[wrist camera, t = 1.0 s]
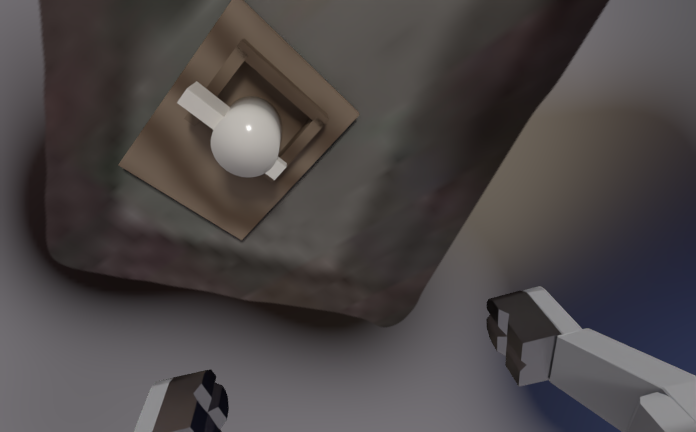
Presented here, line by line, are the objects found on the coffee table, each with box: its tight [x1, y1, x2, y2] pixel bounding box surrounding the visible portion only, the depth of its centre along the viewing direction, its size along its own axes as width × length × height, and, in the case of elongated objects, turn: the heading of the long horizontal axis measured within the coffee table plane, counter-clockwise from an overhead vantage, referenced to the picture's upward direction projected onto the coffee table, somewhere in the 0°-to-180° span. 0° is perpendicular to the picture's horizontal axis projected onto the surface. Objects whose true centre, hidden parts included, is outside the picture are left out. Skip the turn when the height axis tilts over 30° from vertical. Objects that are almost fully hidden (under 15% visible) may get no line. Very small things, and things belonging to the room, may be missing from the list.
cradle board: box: [119, 0, 360, 240], centre depth 37 cm, size 22×16×3 cm
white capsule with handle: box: [177, 81, 287, 180], centre depth 34 cm, size 10×6×7 cm, turn 46°
